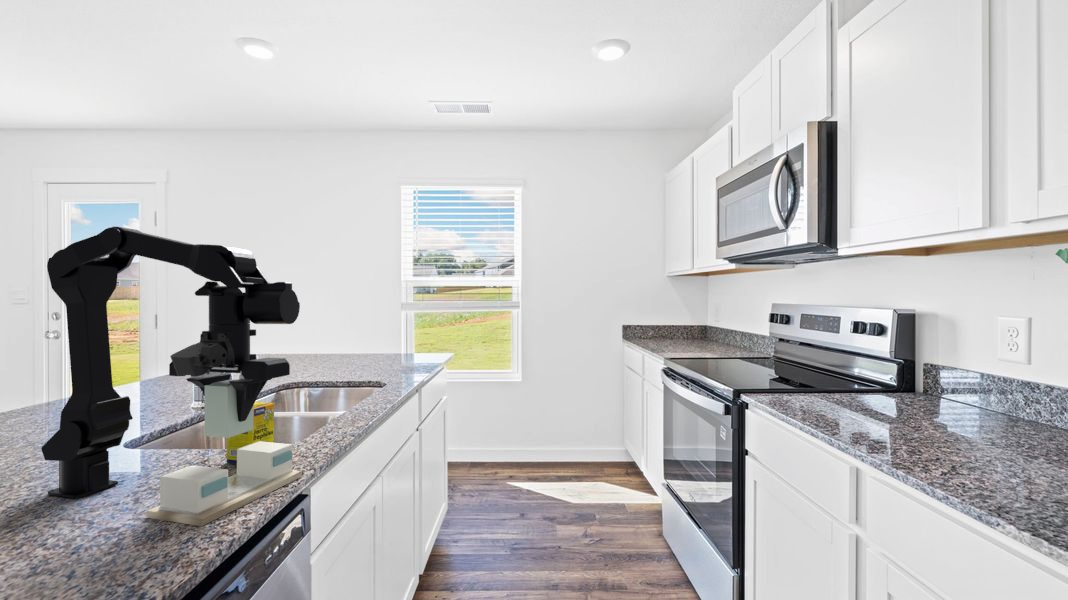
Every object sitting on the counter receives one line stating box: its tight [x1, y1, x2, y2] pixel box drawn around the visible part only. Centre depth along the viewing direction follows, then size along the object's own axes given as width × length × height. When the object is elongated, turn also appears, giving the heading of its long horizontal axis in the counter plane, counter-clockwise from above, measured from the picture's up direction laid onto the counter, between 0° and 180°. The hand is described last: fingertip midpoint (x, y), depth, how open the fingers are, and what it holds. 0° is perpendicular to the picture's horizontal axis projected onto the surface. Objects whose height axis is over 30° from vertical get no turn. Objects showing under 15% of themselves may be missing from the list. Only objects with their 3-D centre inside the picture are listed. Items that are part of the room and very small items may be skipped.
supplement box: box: [226, 401, 275, 465], centre depth 97 cm, size 6×6×11 cm
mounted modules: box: [159, 441, 293, 513], centre depth 80 cm, size 7×18×4 cm, turn 166°
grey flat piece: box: [158, 468, 294, 516], centre depth 80 cm, size 7×19×1 cm, turn 166°
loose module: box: [204, 378, 253, 439], centre depth 80 cm, size 4×5×8 cm
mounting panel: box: [146, 469, 303, 527], centre depth 80 cm, size 10×20×1 cm, turn 166°
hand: (229, 420), depth 80 cm, fingers closed on loose module, 4 cm apart
